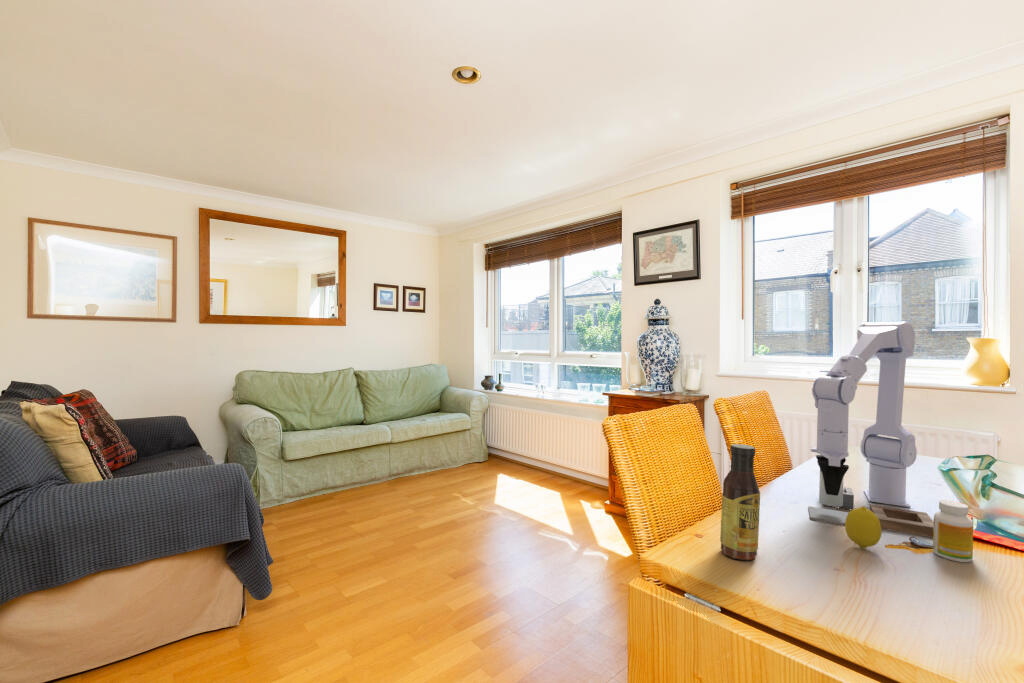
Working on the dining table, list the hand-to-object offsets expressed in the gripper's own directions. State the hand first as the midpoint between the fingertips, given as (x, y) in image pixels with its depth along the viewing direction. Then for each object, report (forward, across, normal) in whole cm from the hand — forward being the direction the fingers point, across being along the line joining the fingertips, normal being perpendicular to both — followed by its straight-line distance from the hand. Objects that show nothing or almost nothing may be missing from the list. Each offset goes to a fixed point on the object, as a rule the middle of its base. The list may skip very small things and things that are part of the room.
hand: (830, 491), depth 107 cm
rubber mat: (+6, 0, 0) cm, 6 cm away
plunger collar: (+6, -11, +2) cm, 13 cm away
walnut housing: (+6, -3, +13) cm, 15 cm away
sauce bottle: (+6, +31, -16) cm, 35 cm away
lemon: (+6, +16, +4) cm, 18 cm away
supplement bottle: (+6, +11, +18) cm, 22 cm away
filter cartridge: (+3, 0, 0) cm, 3 cm away
